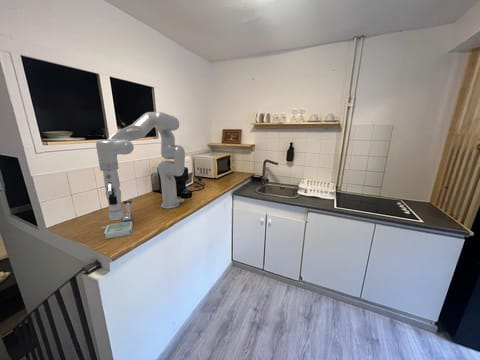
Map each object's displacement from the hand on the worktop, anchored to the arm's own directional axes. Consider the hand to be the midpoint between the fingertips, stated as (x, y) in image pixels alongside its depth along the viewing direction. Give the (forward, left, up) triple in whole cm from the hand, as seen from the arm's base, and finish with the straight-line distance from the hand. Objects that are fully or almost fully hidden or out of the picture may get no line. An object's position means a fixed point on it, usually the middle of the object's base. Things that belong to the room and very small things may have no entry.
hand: (114, 201), depth 99 cm
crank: (-3, -15, -15) cm, 21 cm away
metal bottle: (0, 0, -10) cm, 10 cm away
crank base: (+2, -10, -17) cm, 20 cm away
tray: (0, 0, -17) cm, 17 cm away
